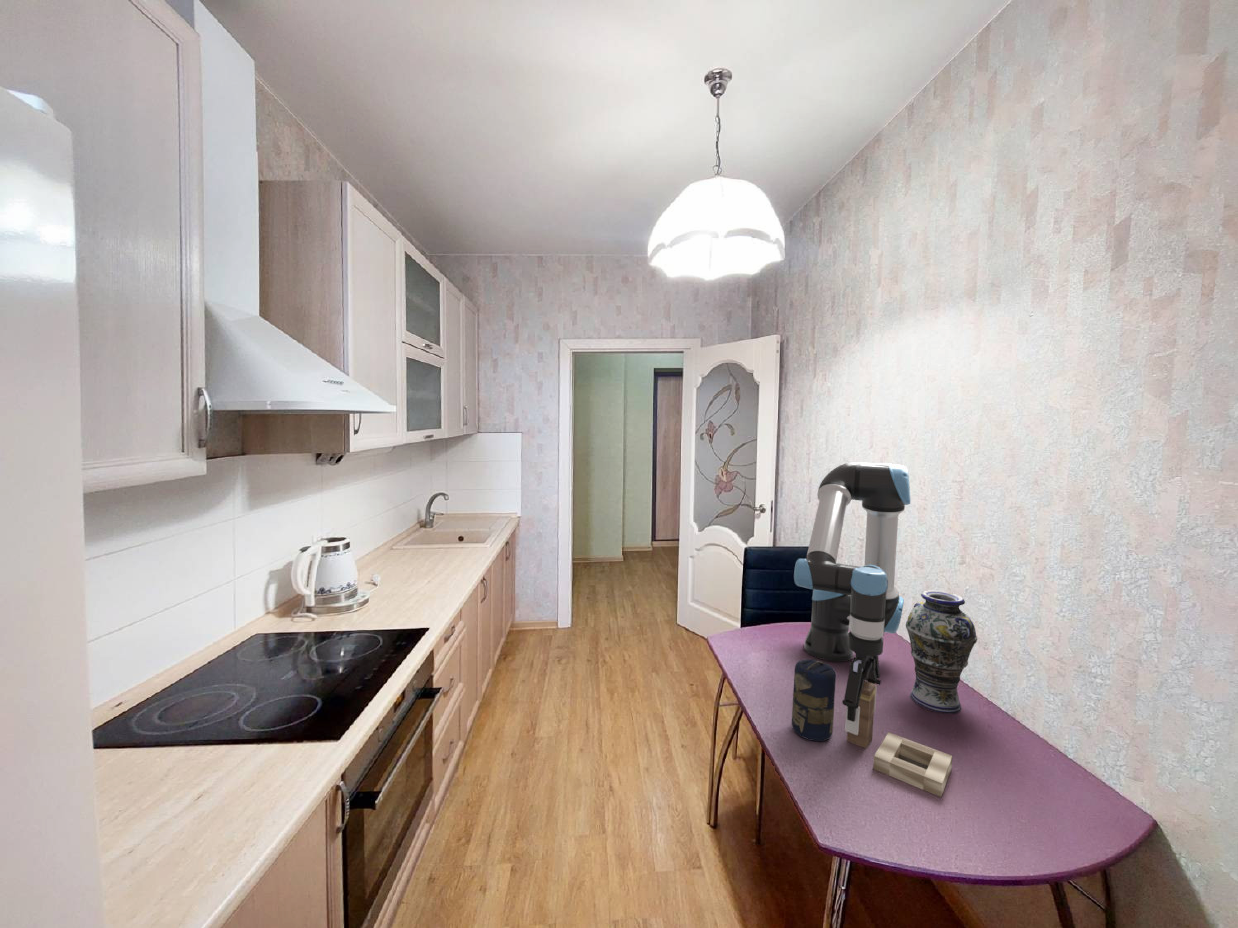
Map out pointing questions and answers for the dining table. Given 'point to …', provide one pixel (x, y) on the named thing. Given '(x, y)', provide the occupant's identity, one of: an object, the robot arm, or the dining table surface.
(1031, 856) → the dining table surface
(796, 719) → the blue patterned canister
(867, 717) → the block
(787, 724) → the dining table surface
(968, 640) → the vase
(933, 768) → the socket block
